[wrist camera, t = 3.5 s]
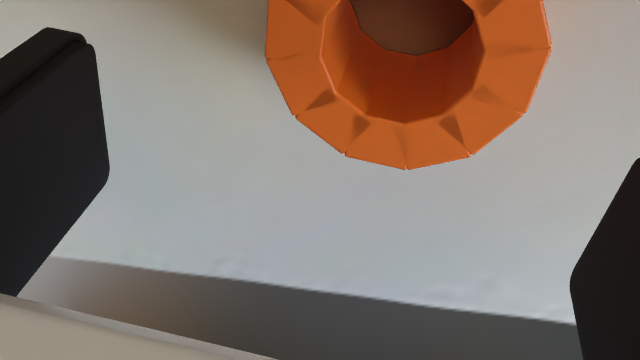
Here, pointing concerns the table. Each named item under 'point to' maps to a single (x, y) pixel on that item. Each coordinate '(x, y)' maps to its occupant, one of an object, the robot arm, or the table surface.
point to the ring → (406, 80)
